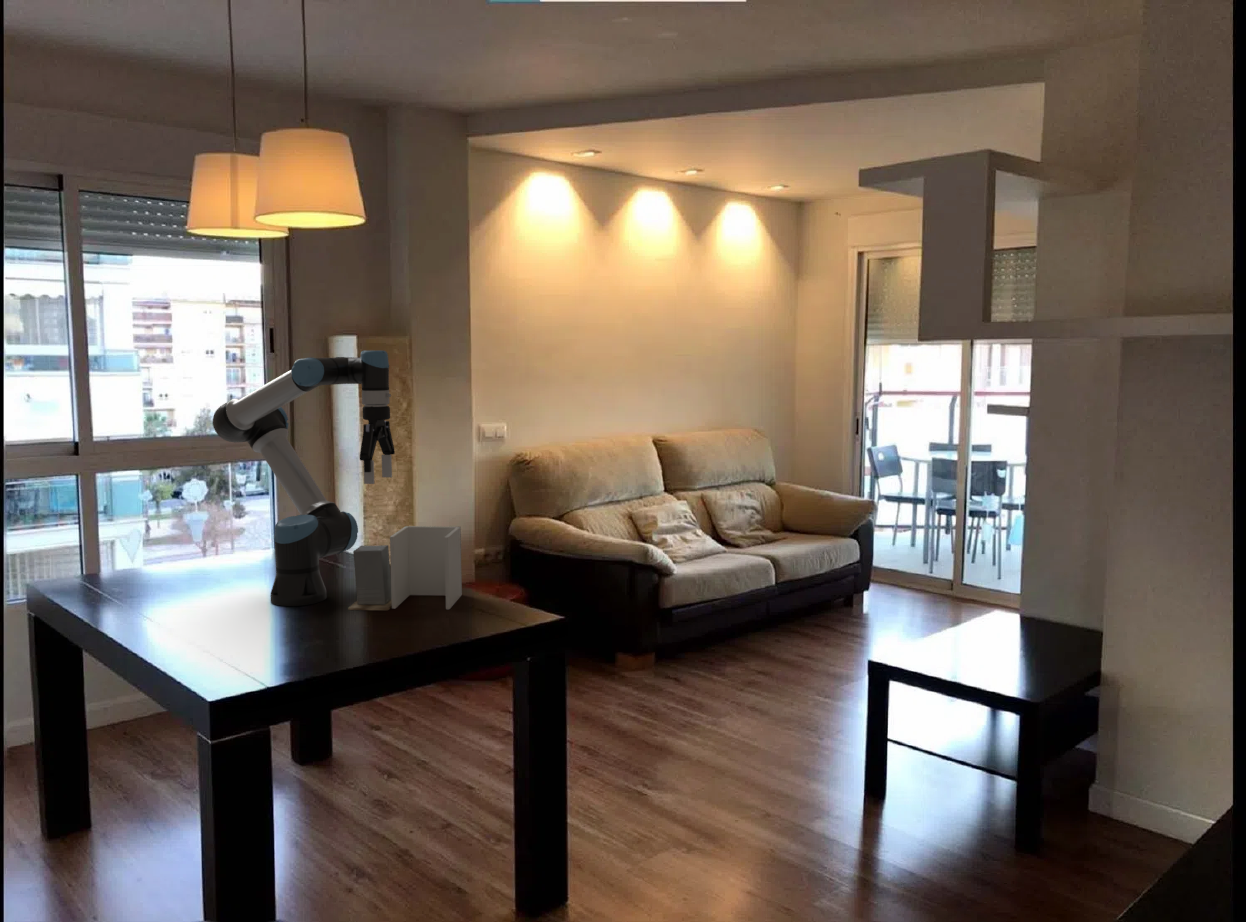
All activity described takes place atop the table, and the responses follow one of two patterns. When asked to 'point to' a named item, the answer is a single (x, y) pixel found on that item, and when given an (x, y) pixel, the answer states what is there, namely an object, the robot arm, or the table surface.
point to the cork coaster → (370, 606)
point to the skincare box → (372, 575)
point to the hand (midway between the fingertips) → (378, 480)
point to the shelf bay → (426, 563)
